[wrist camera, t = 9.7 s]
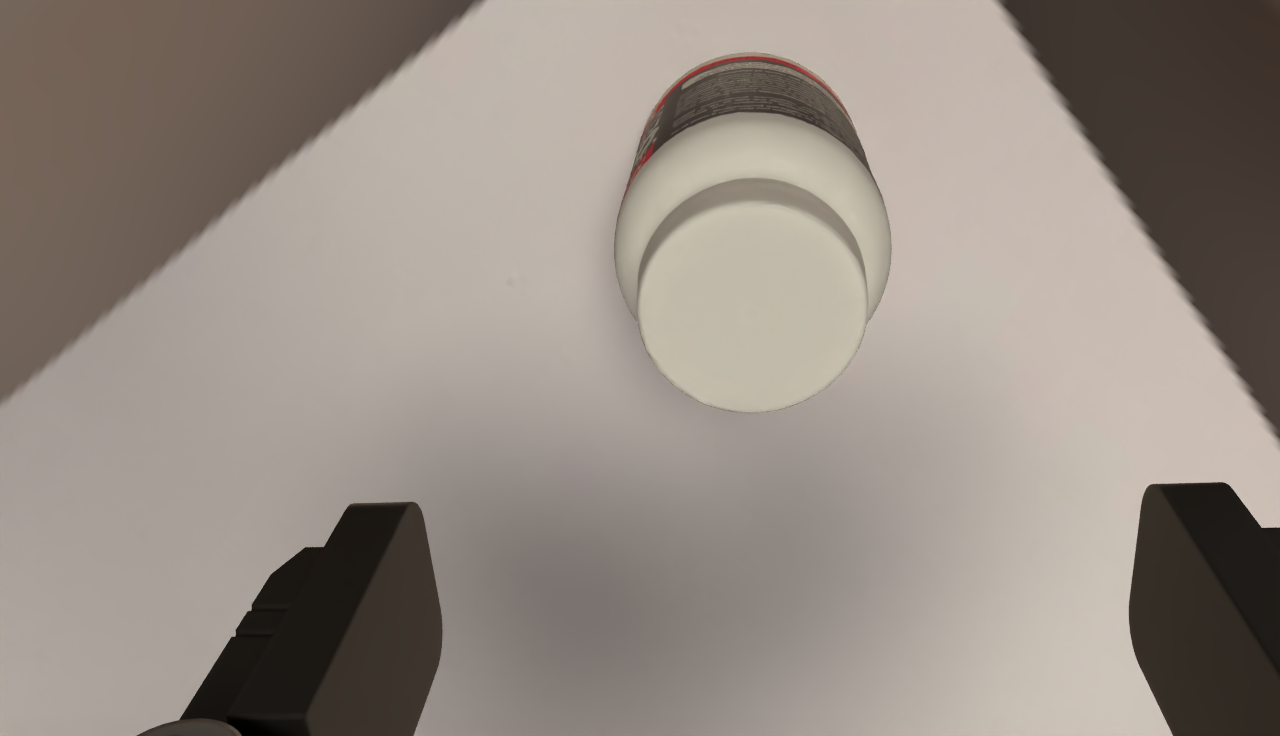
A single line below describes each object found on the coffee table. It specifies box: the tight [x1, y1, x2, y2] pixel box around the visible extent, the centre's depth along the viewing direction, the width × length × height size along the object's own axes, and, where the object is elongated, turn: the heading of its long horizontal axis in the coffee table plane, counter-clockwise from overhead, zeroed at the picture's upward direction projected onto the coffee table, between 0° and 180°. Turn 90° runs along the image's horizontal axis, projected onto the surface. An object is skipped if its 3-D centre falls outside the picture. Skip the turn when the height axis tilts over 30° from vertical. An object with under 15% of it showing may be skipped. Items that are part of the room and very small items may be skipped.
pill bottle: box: [614, 53, 892, 413], centre depth 24 cm, size 5×5×10 cm
